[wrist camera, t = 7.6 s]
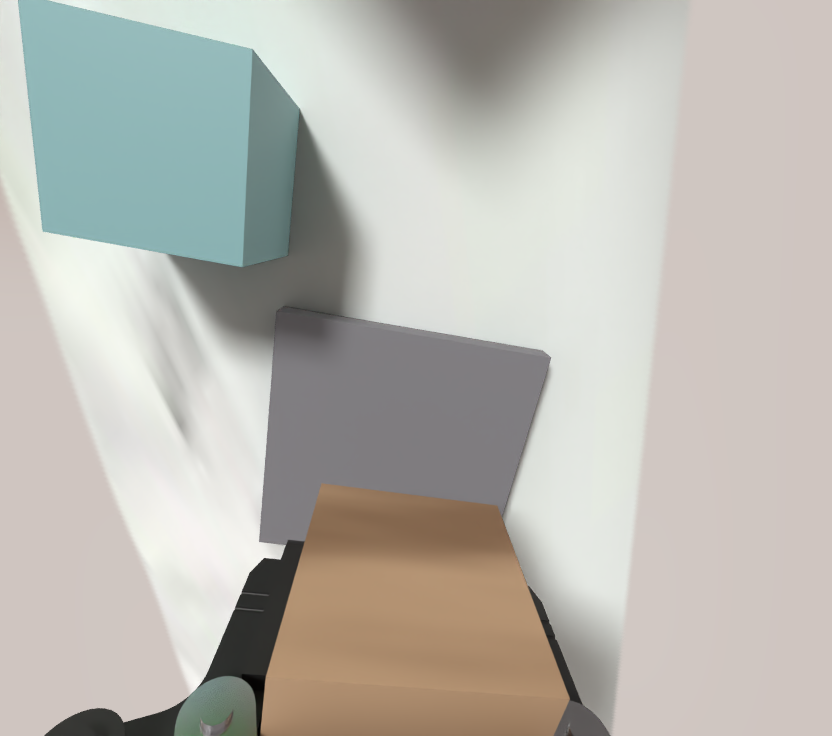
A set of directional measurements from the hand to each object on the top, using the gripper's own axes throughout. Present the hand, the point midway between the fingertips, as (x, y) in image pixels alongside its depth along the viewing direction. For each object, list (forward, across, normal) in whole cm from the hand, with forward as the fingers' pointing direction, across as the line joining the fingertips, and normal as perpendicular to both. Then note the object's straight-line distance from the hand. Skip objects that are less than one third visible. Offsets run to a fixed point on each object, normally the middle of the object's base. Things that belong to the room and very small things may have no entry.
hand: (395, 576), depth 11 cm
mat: (+7, 0, 0) cm, 7 cm away
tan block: (0, 0, 0) cm, 0 cm away
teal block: (+7, +8, -10) cm, 15 cm away
